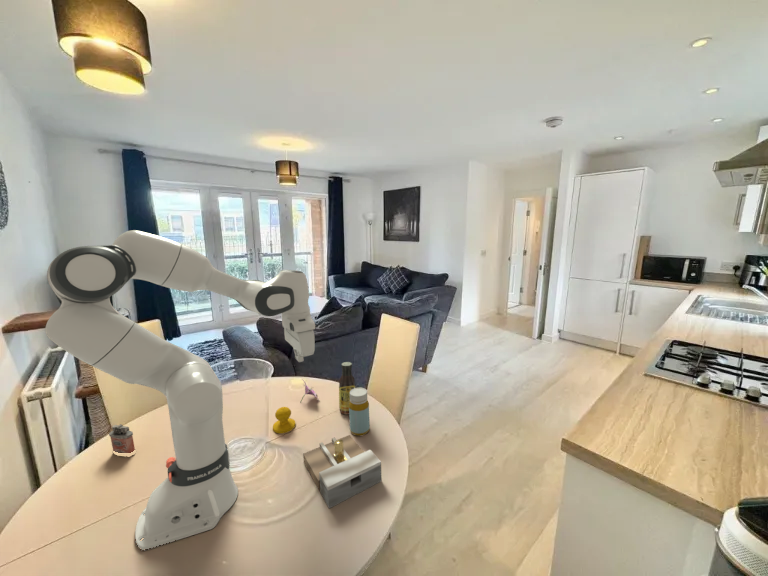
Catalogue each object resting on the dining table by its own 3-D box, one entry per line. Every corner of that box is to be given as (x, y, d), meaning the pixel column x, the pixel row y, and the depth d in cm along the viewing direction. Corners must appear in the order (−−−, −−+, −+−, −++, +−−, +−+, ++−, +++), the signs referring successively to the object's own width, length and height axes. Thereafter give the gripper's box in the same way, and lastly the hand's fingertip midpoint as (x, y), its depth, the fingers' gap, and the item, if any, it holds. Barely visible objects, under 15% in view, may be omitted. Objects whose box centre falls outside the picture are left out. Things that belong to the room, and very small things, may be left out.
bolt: (333, 459, 93) (332, 441, 92) (341, 455, 95) (340, 437, 94) (346, 478, 86) (345, 459, 85) (355, 474, 87) (354, 455, 86)
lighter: (109, 455, 103) (104, 427, 101) (120, 448, 106) (115, 421, 104) (128, 458, 101) (123, 430, 99) (139, 451, 104) (134, 424, 102)
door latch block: (303, 462, 97) (302, 444, 96) (350, 442, 106) (349, 425, 104) (329, 508, 80) (327, 487, 79) (381, 481, 89) (380, 461, 88)
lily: (314, 412, 126) (323, 389, 128) (287, 401, 126) (297, 378, 128) (318, 405, 138) (326, 384, 140) (293, 395, 138) (302, 374, 139)
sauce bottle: (340, 416, 121) (338, 368, 117) (338, 408, 127) (336, 361, 123) (357, 413, 123) (355, 366, 119) (354, 405, 129) (352, 359, 125)
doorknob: (278, 436, 110) (269, 426, 116) (299, 427, 115) (289, 418, 121) (276, 417, 109) (267, 408, 114) (297, 408, 114) (288, 400, 120)
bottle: (367, 437, 108) (365, 397, 105) (347, 435, 109) (345, 396, 107) (371, 425, 115) (370, 387, 112) (353, 423, 116) (351, 386, 114)
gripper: (278, 314, 107) (281, 352, 109) (296, 329, 90) (299, 373, 92) (296, 311, 110) (299, 348, 113) (317, 325, 93) (320, 368, 96)
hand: (299, 360), depth 102 cm, fingers closed
